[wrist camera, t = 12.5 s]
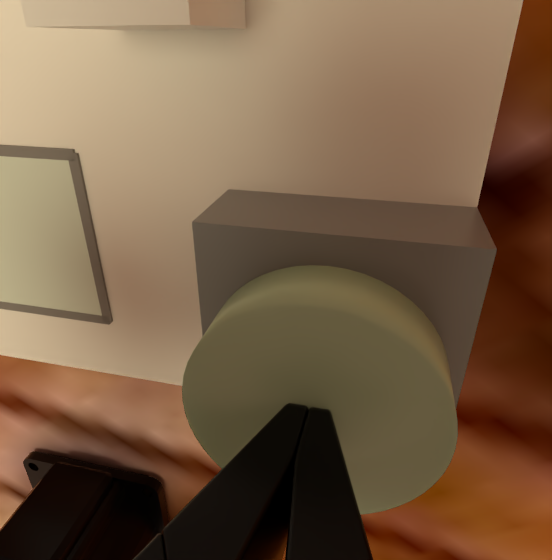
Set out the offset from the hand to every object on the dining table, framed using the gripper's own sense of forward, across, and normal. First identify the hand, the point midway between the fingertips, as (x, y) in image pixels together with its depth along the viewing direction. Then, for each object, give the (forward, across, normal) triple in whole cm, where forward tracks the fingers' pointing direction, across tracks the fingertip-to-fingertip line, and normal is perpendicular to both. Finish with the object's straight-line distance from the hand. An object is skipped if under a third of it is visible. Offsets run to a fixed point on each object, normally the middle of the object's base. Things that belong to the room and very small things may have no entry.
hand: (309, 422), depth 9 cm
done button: (+4, 0, 0) cm, 4 cm away
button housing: (+5, 0, 0) cm, 5 cm away
